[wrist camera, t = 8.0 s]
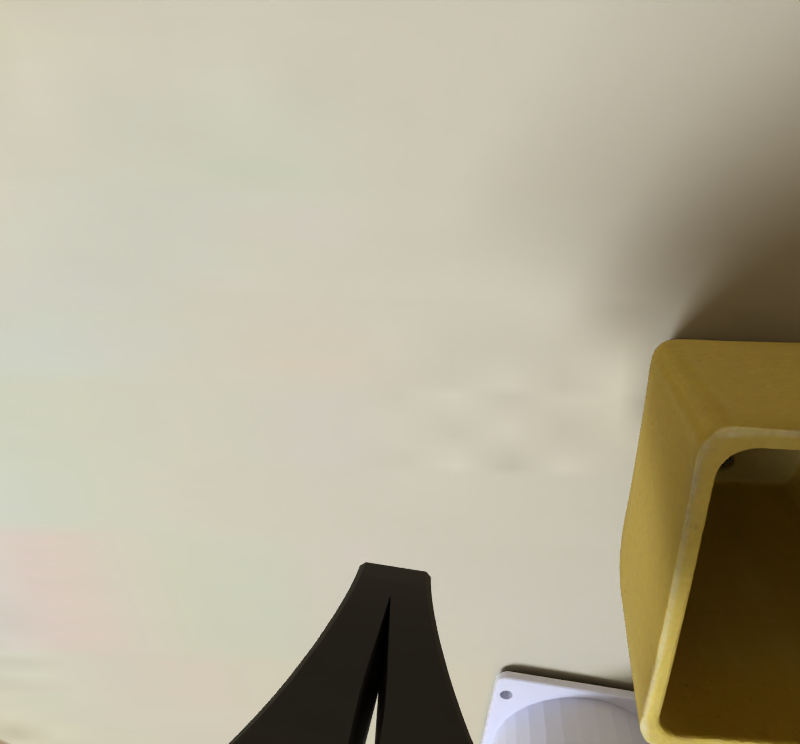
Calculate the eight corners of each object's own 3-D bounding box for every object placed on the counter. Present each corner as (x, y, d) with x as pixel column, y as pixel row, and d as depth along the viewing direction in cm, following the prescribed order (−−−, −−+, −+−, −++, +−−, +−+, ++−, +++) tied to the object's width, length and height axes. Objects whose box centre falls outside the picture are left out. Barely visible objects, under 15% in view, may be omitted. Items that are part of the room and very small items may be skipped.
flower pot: (923, 286, 19) (1263, 453, 11) (839, 526, 22) (1043, 786, 14) (612, 281, 20) (705, 430, 11) (582, 512, 23) (636, 748, 15)
